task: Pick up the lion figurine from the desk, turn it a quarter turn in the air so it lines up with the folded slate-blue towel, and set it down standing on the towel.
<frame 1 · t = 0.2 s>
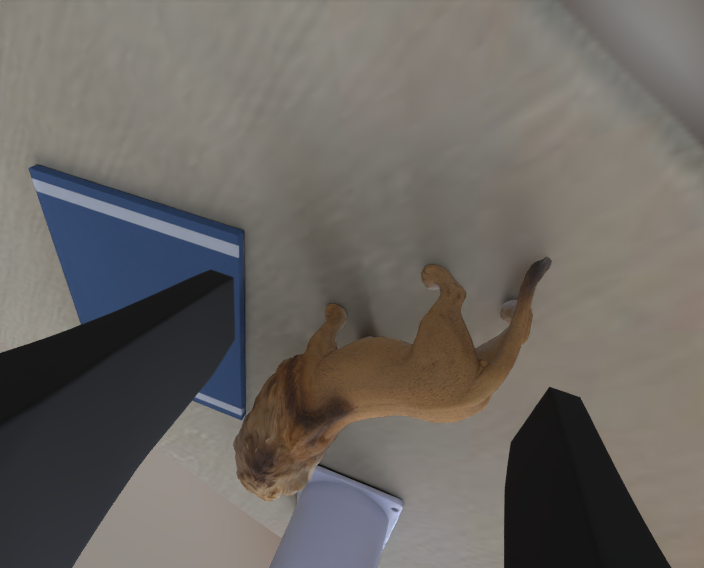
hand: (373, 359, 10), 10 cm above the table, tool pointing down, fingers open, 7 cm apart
lion figurine: (402, 319, 22), on the table
towel: (156, 306, 28), on the table
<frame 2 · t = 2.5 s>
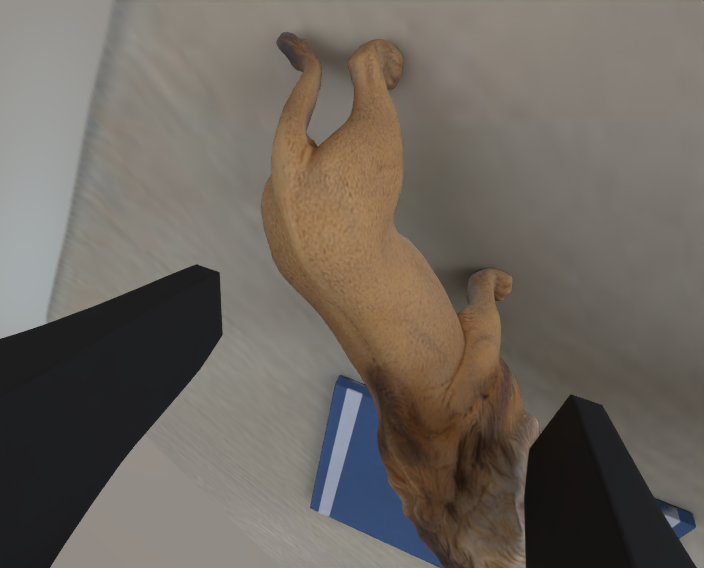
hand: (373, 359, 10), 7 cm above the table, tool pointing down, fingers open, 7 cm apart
lion figurine: (443, 229, 15), on the table, touching gripper
towel: (459, 505, 23), on the table
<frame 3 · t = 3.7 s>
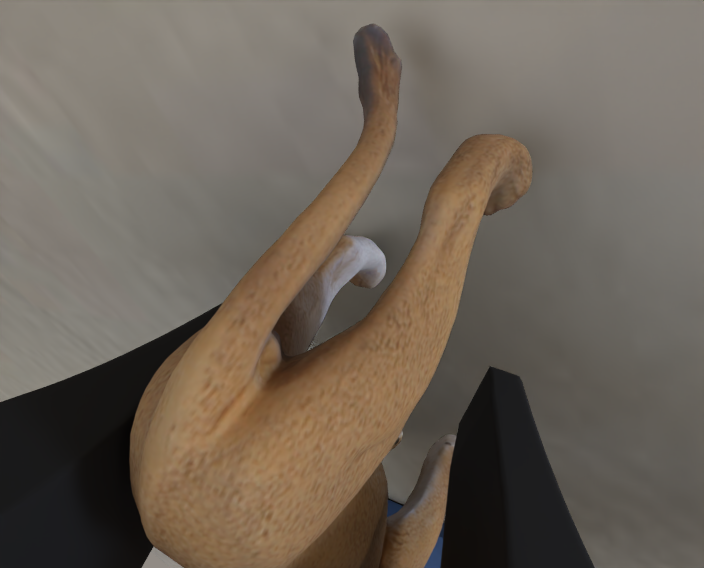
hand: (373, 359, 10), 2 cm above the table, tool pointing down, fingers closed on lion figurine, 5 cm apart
lion figurine: (446, 371, 11), point 1 cm above the table, touching gripper
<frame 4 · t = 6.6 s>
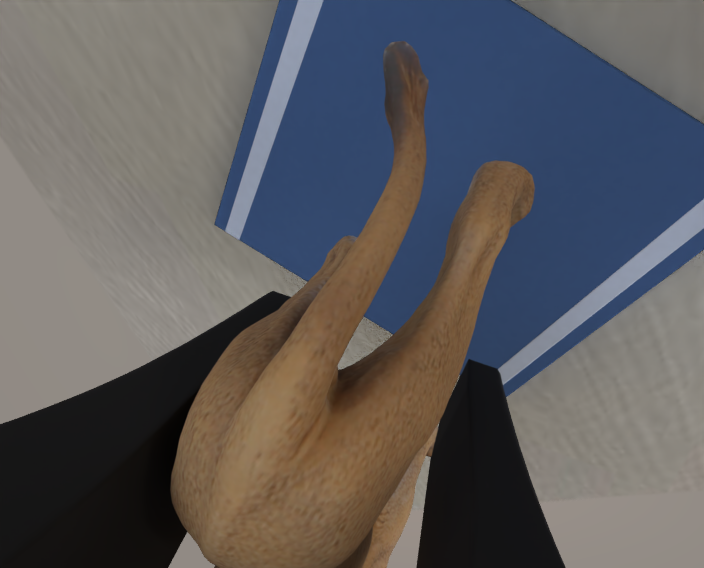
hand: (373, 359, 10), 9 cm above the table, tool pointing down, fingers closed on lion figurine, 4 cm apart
lion figurine: (419, 362, 12), point 7 cm above the table, touching gripper
towel: (435, 202, 16), on the table
when the fingers open (3 cm above the table, at t = 9.9 s): lion figurine stays where it is, resting on towel.
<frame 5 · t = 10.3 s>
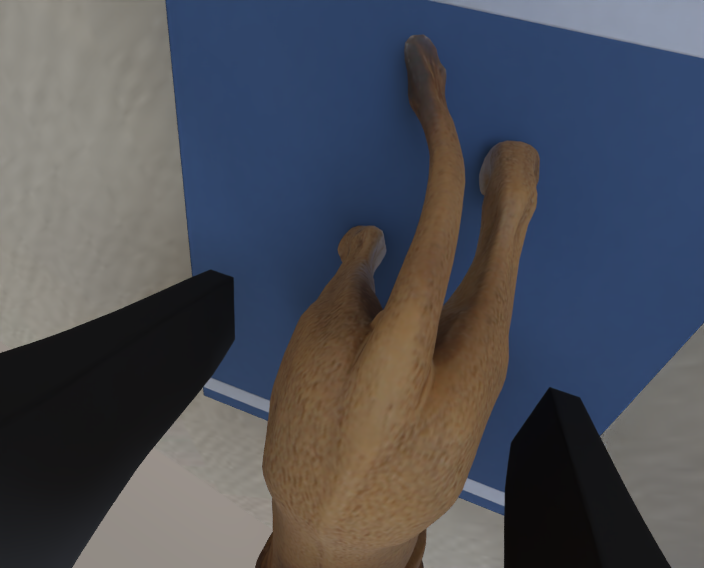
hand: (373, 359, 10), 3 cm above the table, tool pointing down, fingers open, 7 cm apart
lion figurine: (424, 344, 12), resting on towel
towel: (402, 285, 12), on the table
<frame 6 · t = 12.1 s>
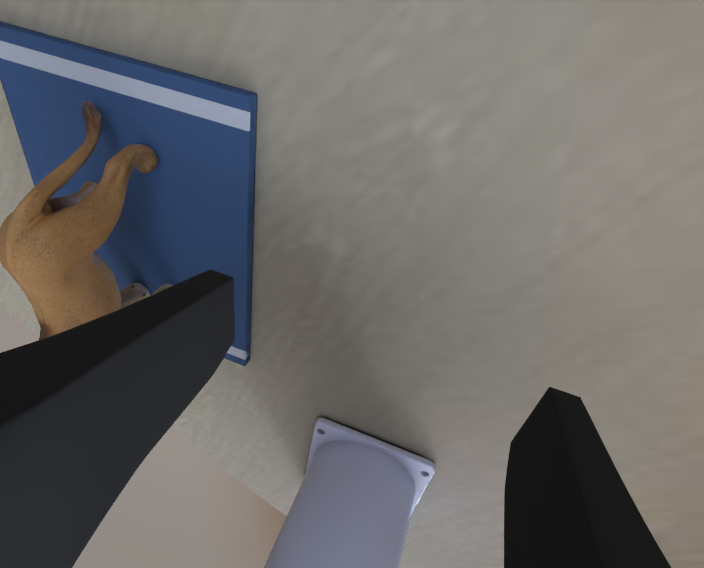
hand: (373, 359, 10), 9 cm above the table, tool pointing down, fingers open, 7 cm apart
lion figurine: (159, 251, 23), resting on towel
towel: (144, 218, 23), on the table
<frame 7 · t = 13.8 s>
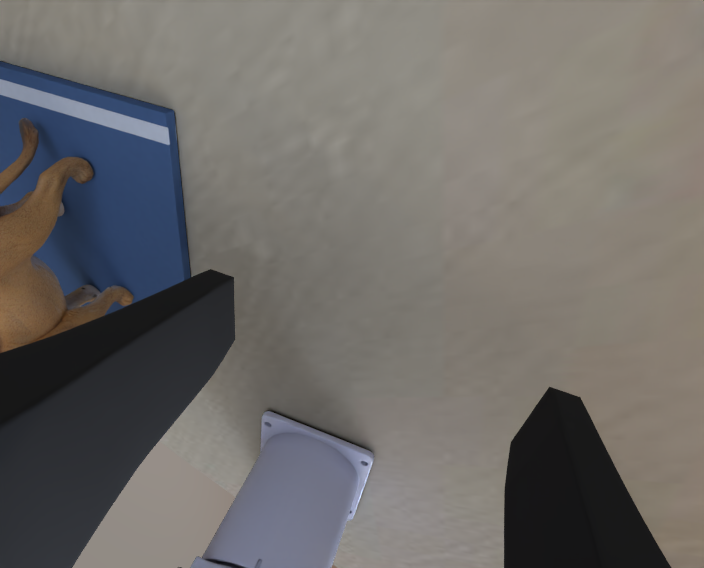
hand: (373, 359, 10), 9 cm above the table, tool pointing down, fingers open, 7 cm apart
lion figurine: (106, 255, 25), resting on towel
towel: (90, 225, 24), on the table
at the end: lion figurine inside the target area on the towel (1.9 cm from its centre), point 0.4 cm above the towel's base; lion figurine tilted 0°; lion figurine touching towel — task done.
